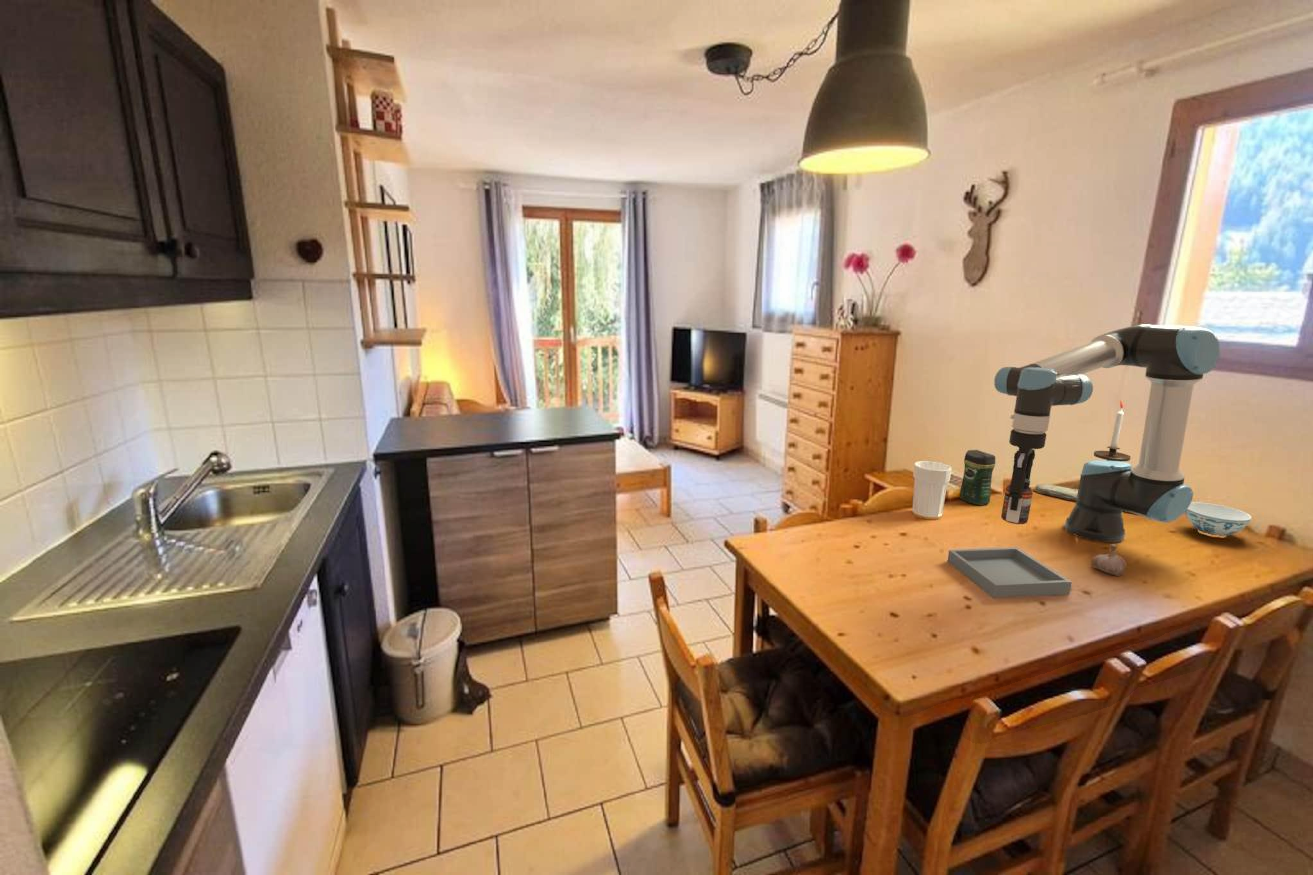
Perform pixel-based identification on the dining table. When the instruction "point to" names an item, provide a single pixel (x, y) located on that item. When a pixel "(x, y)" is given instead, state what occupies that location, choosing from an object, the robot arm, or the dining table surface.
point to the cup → (930, 489)
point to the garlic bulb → (1109, 562)
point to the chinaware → (1216, 518)
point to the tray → (1008, 572)
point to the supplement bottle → (1024, 506)
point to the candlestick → (1114, 442)
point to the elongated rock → (1058, 491)
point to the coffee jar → (977, 477)
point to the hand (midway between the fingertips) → (1014, 517)
